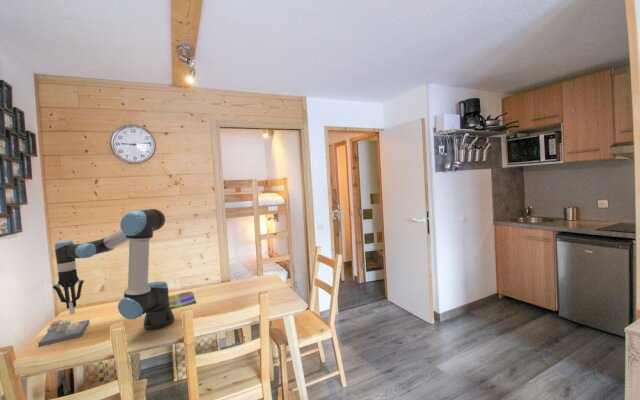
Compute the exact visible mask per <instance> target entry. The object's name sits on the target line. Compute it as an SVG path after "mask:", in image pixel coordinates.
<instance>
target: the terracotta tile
mask: <svg viewBox="0 0 640 400" xmlns="http://www.w3.org/2000/svg"><path fill="white" fill-rule="evenodd" d="M61 321H63V319H59V320H53V321H52V322H51V323H50V326H51V328H54V327H58V326H59V323H60V322H61Z"/></svg>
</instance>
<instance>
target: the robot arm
mask: <svg viewBox="0 0 640 400" xmlns="http://www.w3.org/2000/svg"><path fill="white" fill-rule="evenodd" d="M165 223H166V216H165V214H164V212H162V211H161V210H159V209H158V208H157V209H156V208H148V209H140V210H139V209H138V210H137V209H136V210H133V211H130V212H127V213H126V214H124V215H123V216H122V218H121V220H120V229H119V230H117V231H114V232H113V233H110V234H109V235H107V236H105V237H103V238H101V239H96V240H92V241H88V242H82V243H74V241H73V240H71V239H70V240H61V241H57V242H55V244H54V252H55V260H56V267H57V271H58V273H57V276H58V281H57V283H56V284H54V285H53V286H52V288H53V289H54V291H55V292H56V294H57V296H58V298H59V300H60V302H61V303H65V305H66V309H67V310H68V309H69V315H75V313H76V307H77V300H79V299H81V294H82V289H83V288H82V287H83V284H84V283H85V280H84V279H80V278H79V277H78V271H77V270H78V269H77V263H76V259H86V258H87V259H89V258H92V257H93V256H95V255H98V254H99V255H100V254H103V253H108V252H111V251H113V250H115V248H116V247H119V246H120V245H121V246H122V245H123V244H125V243H127V242H129V243H128V245H129V247H128V269H127V270H128V274H127V275H128V276H127V288H126V289H125V290H124V291H123V298H122V299H120V300H119V302H118V305H117V309H118V312H119V314H120V315H121V316H122V317H123V318H124V319H127V320H134V319H138V318H141V317H142V316H144V315H145V316H144V320H143V322H142V323H143V325H142V326H143V329H144V330H147V331H151V330H152V331H153V330H154V331H155V330H158V329H162V328H165V327H168V326H169V325H171V324H173V323H174V322H175V315H174V313H173V311H172V309H170V305H169V296H170V295H169V287H168V283H167V282H166V281H152V282H149V265H150V264H149V263H150V262H149V259H150V241H151V239H153V237H154V232H155V231H157V230H160V229H161V228H162V227H164V225H165ZM76 284H78V287H77V292H76ZM60 286H61V287H62V288H63V291H64V293H63V292H62V289H61V287H60ZM70 296H71V297H70ZM70 298H71V299H70Z"/></svg>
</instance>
